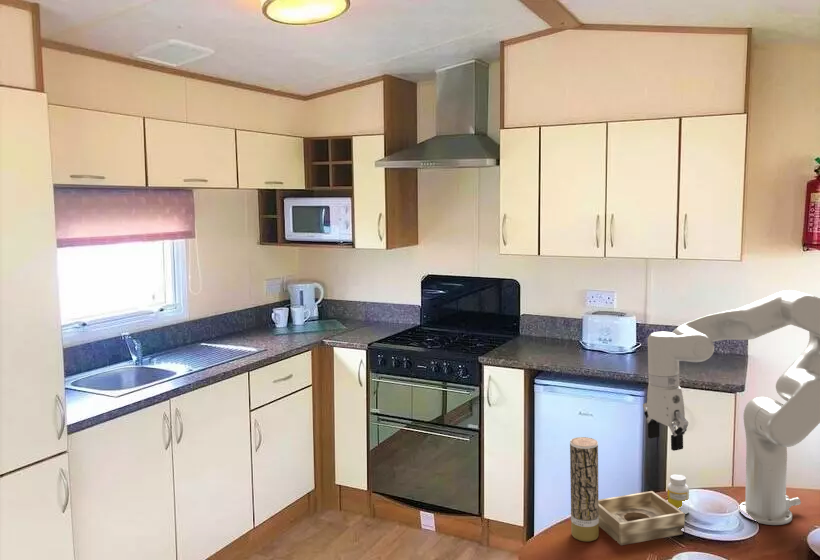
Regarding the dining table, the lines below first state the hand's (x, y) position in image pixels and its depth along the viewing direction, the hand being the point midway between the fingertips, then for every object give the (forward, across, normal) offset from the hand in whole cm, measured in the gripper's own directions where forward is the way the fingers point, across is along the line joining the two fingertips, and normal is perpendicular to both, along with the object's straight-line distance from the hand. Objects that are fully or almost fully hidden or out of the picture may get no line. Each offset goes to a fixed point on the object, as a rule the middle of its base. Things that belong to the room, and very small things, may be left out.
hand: (665, 443), depth 180 cm
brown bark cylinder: (+20, -1, +25) cm, 32 cm away
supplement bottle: (+21, +2, -5) cm, 22 cm away
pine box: (+20, -1, +10) cm, 23 cm away
